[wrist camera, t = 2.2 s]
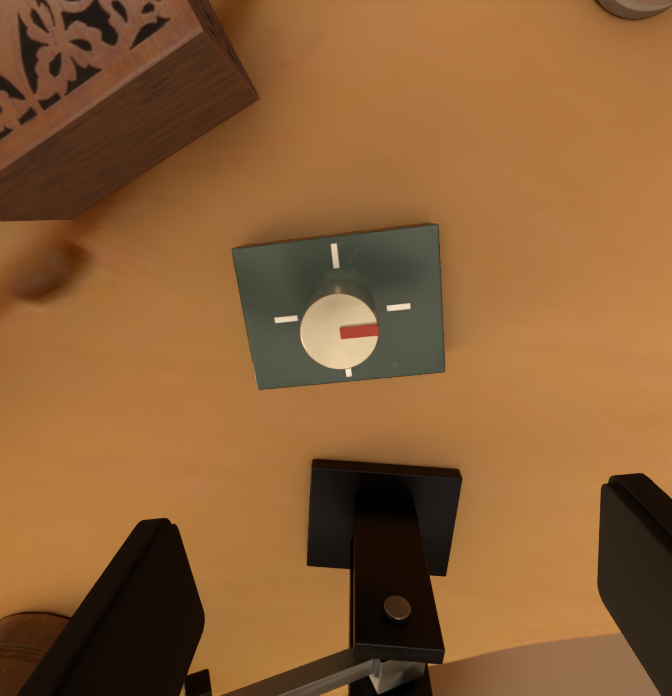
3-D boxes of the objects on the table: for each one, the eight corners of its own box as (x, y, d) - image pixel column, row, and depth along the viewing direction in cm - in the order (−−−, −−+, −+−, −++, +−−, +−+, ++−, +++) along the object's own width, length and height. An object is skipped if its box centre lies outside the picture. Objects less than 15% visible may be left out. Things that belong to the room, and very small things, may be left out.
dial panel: (266, 373, 31) (256, 391, 28) (243, 245, 28) (230, 248, 25) (436, 357, 30) (446, 373, 27) (429, 222, 27) (439, 223, 24)
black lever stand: (308, 554, 35) (284, 735, 23) (312, 458, 33) (287, 605, 20) (443, 565, 35) (490, 753, 23) (458, 469, 32) (521, 624, 20)
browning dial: (313, 347, 27) (305, 375, 22) (304, 283, 26) (293, 299, 21) (378, 341, 26) (382, 368, 22) (372, 276, 25) (375, 290, 21)
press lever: (186, 736, 21) (191, 796, 19) (181, 661, 20) (186, 717, 18) (398, 654, 26) (420, 694, 24) (407, 588, 24) (432, 625, 22)
